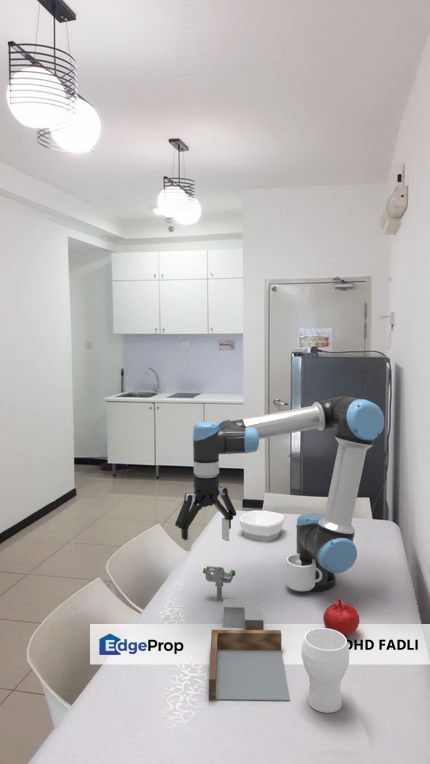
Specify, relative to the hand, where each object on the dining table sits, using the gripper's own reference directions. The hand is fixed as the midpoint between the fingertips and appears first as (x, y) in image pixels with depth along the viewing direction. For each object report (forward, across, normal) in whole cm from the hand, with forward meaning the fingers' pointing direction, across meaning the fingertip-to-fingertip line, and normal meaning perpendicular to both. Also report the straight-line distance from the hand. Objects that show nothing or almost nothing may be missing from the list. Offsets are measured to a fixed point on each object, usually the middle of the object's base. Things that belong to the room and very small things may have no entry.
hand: (206, 544), depth 163 cm
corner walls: (+22, +8, +18) cm, 29 cm away
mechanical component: (+22, -8, -6) cm, 24 cm away
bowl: (+22, -53, -40) cm, 70 cm away
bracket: (+22, -6, +14) cm, 27 cm away
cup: (+22, 0, +48) cm, 53 cm away
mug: (+21, -35, +5) cm, 41 cm away
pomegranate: (+22, -27, +29) cm, 45 cm away
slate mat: (+22, +8, +18) cm, 29 cm away
